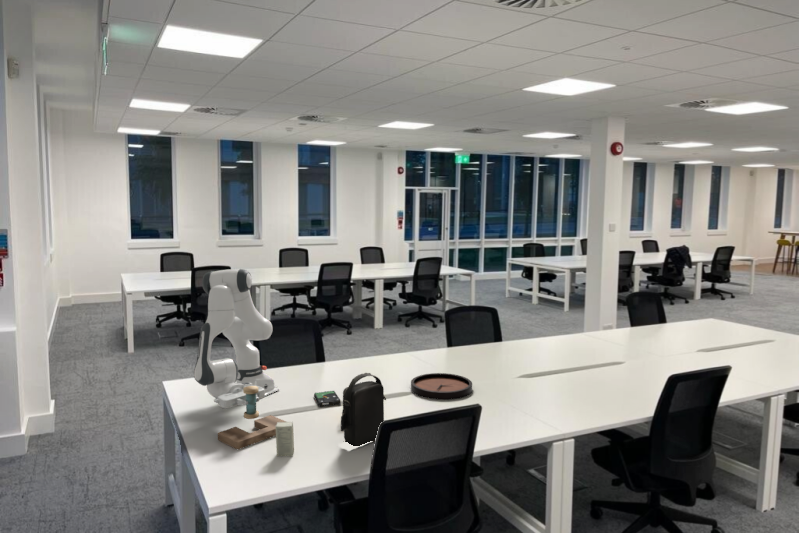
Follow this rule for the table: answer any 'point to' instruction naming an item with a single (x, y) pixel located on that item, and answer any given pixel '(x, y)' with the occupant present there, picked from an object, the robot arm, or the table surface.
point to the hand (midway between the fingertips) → (252, 401)
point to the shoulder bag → (362, 410)
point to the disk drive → (327, 398)
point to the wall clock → (441, 386)
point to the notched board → (242, 438)
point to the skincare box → (284, 439)
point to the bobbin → (251, 402)
